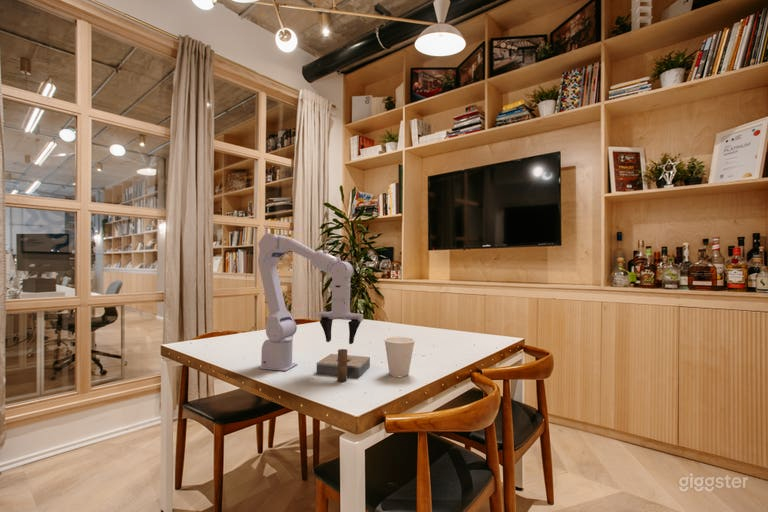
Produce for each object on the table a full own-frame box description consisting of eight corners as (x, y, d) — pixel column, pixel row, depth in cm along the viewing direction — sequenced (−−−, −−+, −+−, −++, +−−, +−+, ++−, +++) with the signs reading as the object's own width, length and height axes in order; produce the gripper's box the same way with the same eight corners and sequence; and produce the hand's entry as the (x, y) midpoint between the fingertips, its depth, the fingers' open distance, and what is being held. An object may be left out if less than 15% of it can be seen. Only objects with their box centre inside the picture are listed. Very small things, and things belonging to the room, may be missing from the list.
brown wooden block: (335, 381, 110) (336, 350, 110) (339, 378, 112) (340, 348, 113) (344, 382, 109) (345, 351, 109) (348, 379, 112) (348, 349, 112)
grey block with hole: (316, 373, 117) (316, 362, 117) (330, 363, 129) (330, 353, 129) (359, 377, 114) (359, 366, 114) (369, 367, 125) (370, 357, 125)
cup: (378, 371, 121) (379, 337, 121) (406, 368, 124) (407, 335, 124) (390, 380, 111) (390, 343, 112) (420, 377, 115) (420, 341, 115)
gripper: (314, 299, 116) (313, 343, 116) (358, 301, 112) (357, 346, 112) (323, 297, 123) (322, 338, 122) (365, 299, 119) (364, 342, 119)
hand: (339, 342), depth 118 cm, fingers open, 7 cm apart
